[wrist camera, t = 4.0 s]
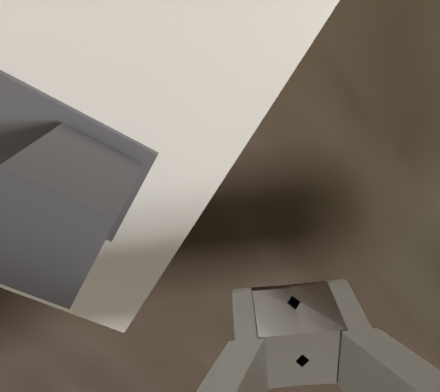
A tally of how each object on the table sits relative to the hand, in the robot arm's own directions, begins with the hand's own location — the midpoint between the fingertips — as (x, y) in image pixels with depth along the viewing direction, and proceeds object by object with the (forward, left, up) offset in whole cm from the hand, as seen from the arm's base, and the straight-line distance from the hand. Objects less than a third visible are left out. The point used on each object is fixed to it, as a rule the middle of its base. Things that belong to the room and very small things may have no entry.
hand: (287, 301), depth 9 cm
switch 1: (0, +6, -1) cm, 6 cm away
